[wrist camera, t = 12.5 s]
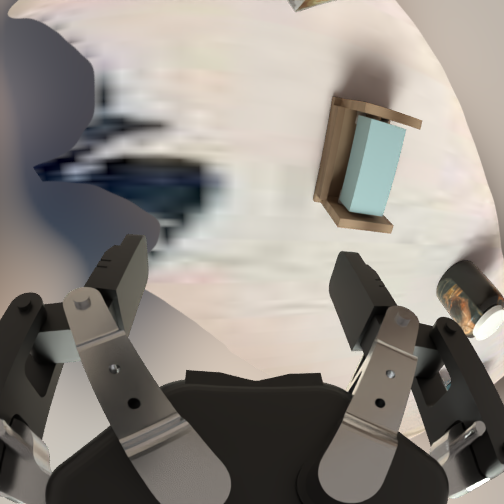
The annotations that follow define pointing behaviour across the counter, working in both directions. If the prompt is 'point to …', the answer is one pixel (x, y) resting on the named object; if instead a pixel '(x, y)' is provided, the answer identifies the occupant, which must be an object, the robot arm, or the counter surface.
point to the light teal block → (371, 166)
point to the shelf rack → (338, 158)
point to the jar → (471, 300)
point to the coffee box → (306, 4)
